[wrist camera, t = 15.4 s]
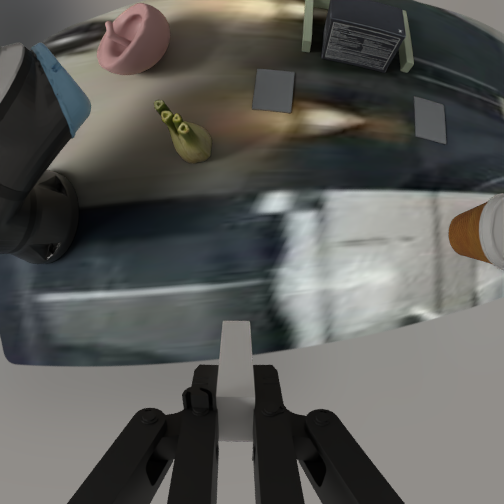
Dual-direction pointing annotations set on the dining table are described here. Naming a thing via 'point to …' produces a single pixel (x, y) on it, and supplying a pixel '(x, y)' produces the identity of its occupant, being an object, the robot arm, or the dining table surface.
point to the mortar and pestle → (134, 40)
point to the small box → (362, 33)
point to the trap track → (281, 82)
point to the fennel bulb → (186, 135)
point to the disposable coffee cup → (481, 232)
